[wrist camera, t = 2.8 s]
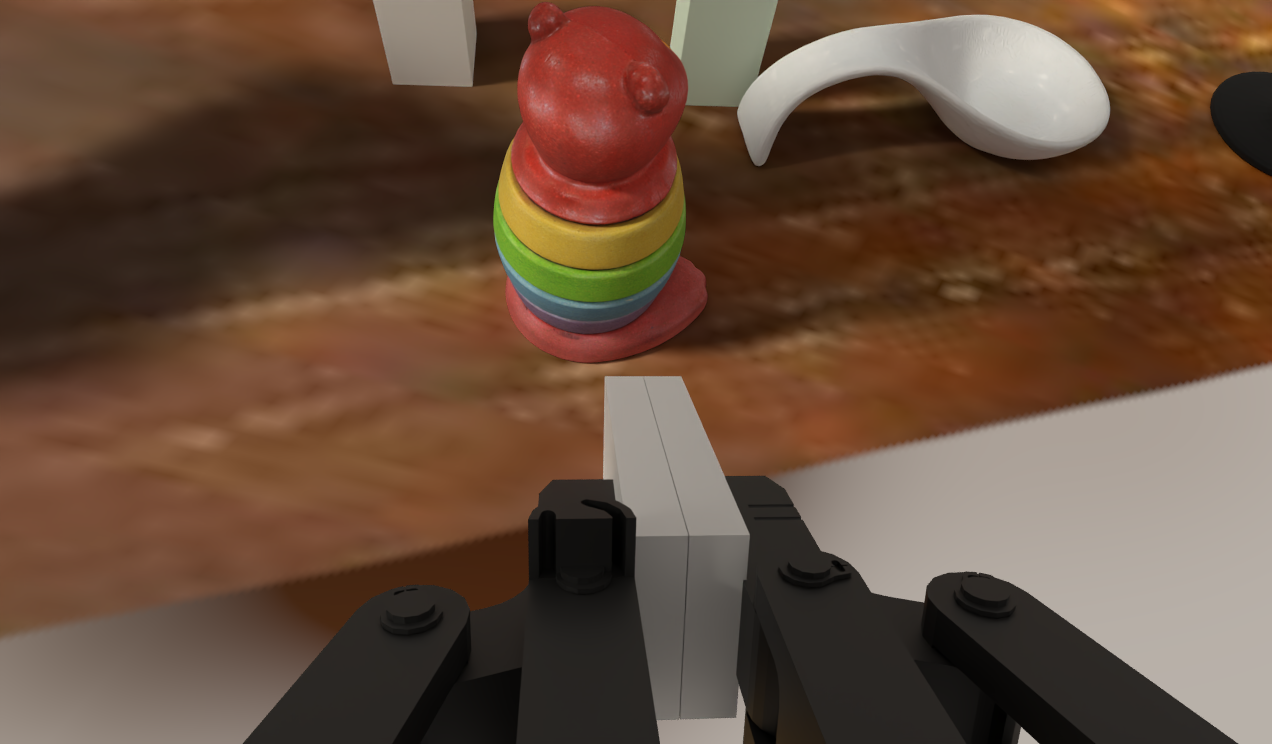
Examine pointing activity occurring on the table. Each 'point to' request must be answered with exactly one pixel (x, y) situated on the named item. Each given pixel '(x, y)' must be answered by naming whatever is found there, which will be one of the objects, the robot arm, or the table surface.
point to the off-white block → (428, 41)
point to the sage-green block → (721, 47)
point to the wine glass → (1246, 117)
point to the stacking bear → (596, 190)
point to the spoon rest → (949, 83)
